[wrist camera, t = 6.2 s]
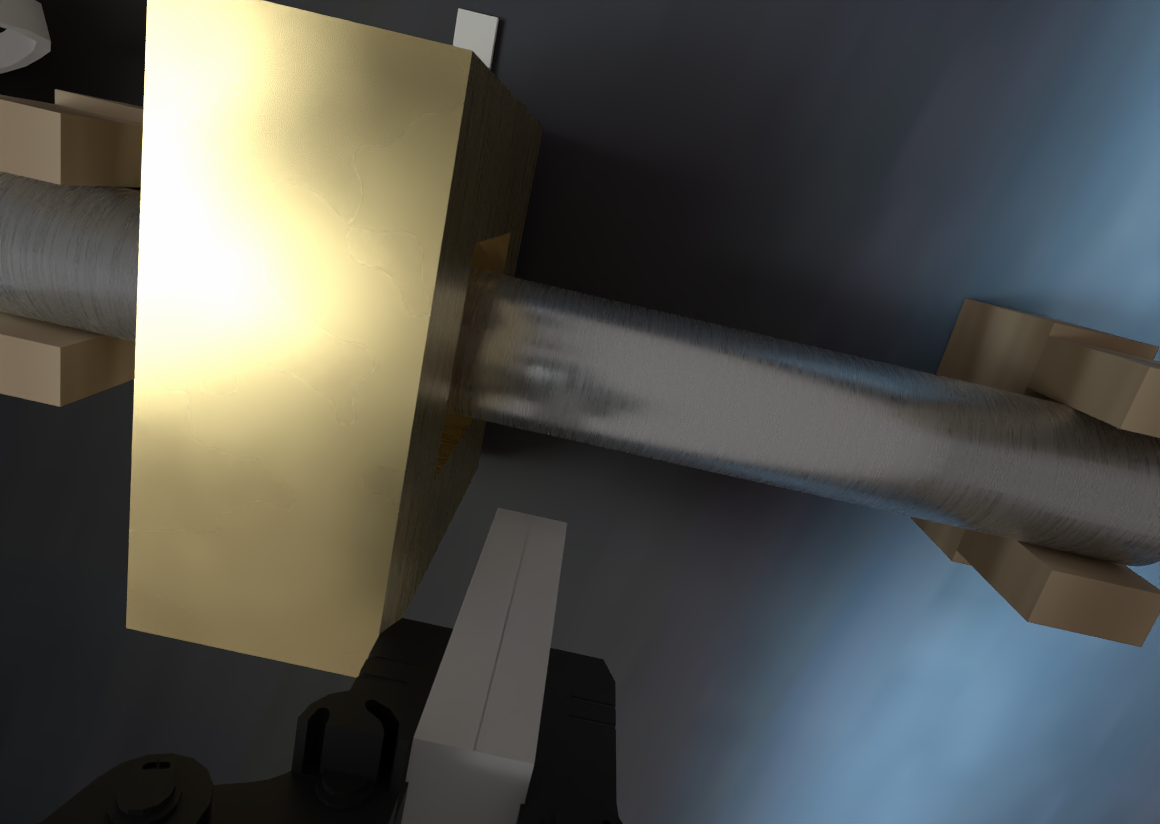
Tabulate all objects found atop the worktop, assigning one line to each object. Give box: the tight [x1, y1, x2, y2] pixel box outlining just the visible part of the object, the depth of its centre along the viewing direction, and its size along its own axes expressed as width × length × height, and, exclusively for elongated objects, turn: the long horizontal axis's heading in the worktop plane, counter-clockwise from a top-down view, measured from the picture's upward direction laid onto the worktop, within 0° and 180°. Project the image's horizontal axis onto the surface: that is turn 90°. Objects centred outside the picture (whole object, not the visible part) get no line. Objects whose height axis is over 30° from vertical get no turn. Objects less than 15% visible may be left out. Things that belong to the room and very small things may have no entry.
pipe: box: [0, 171, 1160, 566], centre depth 14 cm, size 24×3×3 cm, turn 77°
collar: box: [126, 0, 543, 677], centre depth 14 cm, size 4×9×9 cm, turn 167°
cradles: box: [0, 89, 1160, 647], centre depth 16 cm, size 24×6×7 cm, turn 77°
